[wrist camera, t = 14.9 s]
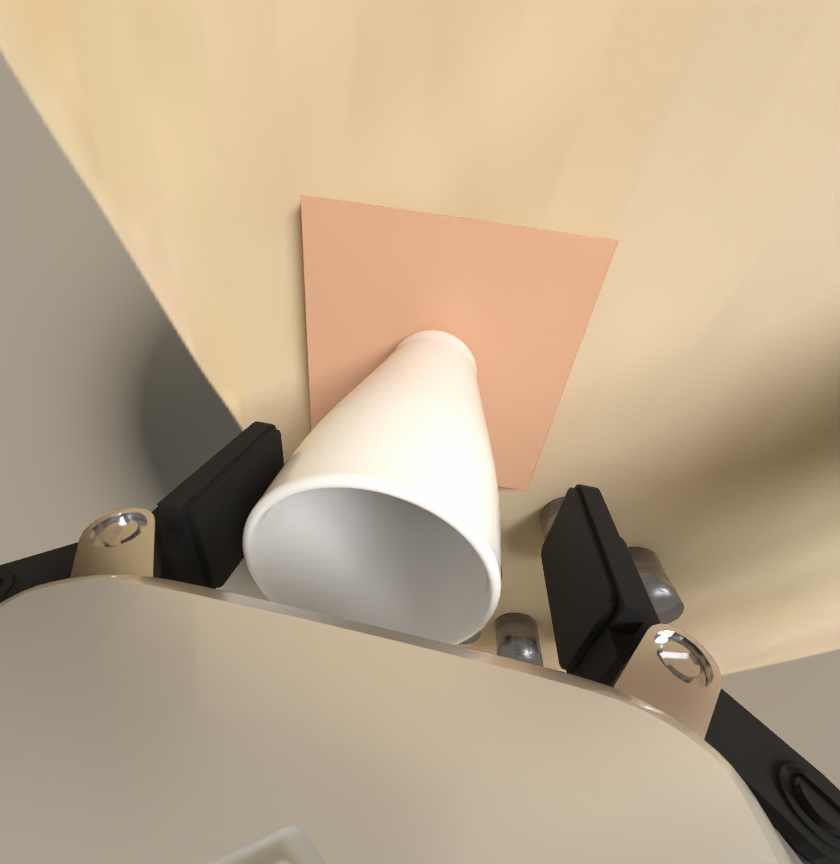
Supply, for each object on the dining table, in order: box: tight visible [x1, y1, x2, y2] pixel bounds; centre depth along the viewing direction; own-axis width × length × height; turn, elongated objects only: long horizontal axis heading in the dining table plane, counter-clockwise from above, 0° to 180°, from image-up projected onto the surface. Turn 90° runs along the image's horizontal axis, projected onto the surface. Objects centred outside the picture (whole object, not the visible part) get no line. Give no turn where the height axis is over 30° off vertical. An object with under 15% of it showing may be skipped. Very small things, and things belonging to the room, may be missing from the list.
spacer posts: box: [459, 497, 684, 667], centre depth 29 cm, size 17×19×4 cm
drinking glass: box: [242, 330, 501, 645], centre depth 15 cm, size 7×7×15 cm
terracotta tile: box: [301, 195, 618, 491], centre depth 22 cm, size 16×16×1 cm
